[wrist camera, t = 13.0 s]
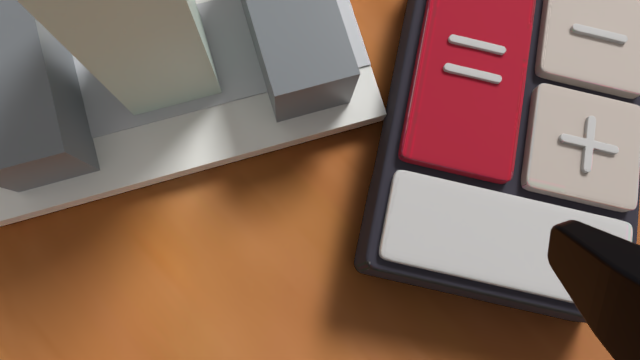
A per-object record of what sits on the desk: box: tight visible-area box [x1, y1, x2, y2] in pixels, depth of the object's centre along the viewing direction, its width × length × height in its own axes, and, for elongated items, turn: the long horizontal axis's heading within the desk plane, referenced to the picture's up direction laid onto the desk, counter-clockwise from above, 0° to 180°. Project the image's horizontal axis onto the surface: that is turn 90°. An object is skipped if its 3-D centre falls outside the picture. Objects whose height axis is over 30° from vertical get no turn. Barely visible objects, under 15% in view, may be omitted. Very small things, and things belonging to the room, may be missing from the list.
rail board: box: [0, 0, 387, 227], centre depth 22 cm, size 18×10×4 cm, turn 107°
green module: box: [17, 0, 222, 115], centre depth 18 cm, size 4×4×10 cm
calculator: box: [354, 0, 640, 323], centre depth 23 cm, size 11×4×15 cm
